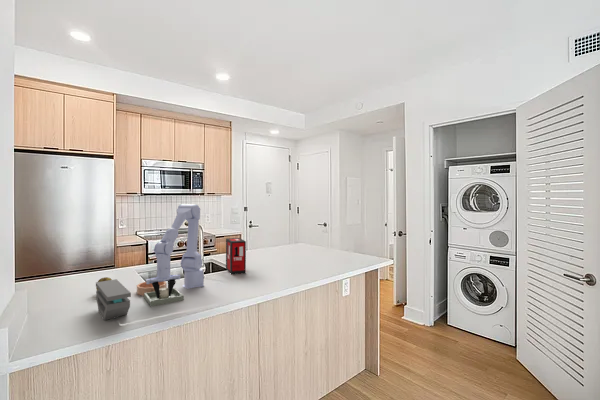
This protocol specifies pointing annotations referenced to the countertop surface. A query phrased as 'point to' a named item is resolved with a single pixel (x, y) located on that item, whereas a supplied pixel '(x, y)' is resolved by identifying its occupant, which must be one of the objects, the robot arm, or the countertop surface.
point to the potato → (104, 280)
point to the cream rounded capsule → (163, 293)
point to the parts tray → (174, 297)
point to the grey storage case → (112, 299)
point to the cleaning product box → (236, 255)
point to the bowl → (148, 287)
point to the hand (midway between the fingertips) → (163, 296)
